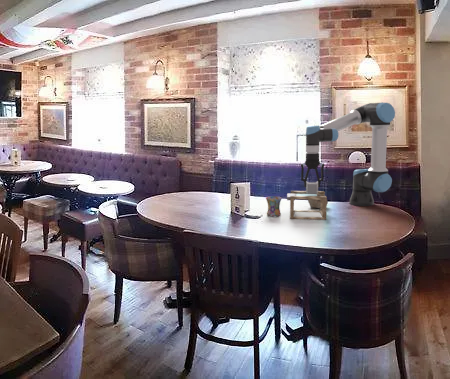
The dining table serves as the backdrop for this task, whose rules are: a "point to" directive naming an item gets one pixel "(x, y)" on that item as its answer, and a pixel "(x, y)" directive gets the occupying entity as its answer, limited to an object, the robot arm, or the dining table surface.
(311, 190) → the stone
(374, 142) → the robot arm
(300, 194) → the trapdoor
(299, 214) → the mat
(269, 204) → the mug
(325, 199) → the frame
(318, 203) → the rock
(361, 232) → the dining table surface
